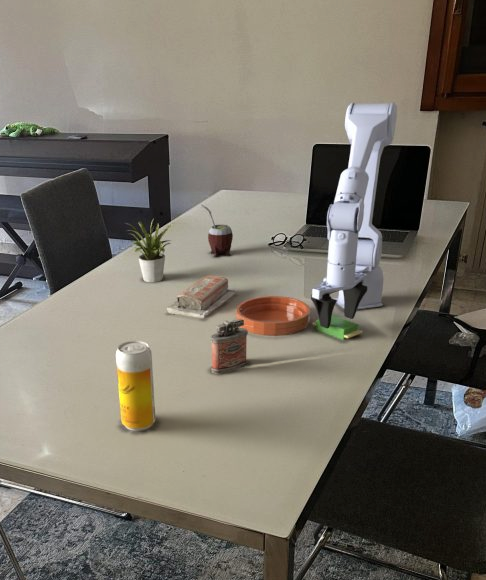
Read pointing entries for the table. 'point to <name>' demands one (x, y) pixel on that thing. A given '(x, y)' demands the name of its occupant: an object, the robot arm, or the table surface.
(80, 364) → the table surface
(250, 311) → the bowl
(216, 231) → the mate gourd
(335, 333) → the eraser with green sleeve
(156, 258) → the house plant
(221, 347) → the lighter
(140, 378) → the beer can
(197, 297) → the packaged product
